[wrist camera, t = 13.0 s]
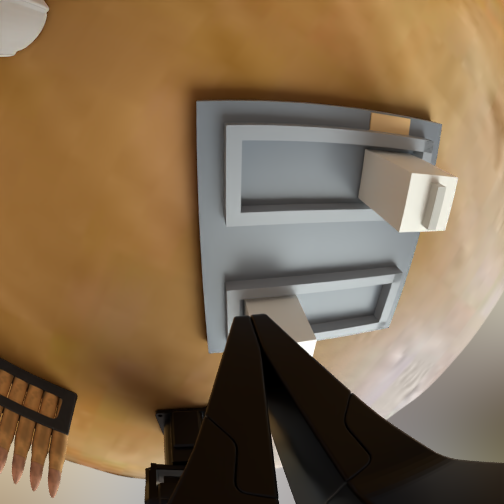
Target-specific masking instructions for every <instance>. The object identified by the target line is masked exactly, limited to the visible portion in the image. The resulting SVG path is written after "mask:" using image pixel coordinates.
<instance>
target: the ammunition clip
mask: <svg viewBox="0 0 504 504" xmlns="http://www.w3.org/2000/svg"><path fill="white" fill-rule="evenodd" d="M11 383H12V386H11ZM10 386H11V389H10ZM9 389H10V392H9ZM8 392H9V395H8ZM26 392H27V393H26ZM7 395H8V398H7ZM25 395H26V397H25ZM24 398H25V400H24ZM41 399H42V402H41ZM76 400H77V394H76V393H73V392H71V391H68V390H66V389H64V388H61V387H59V386H57V385H54V384H52V383H50V382H48V381H45V380H43V379H41V378H39V377H37V376H35V375H33V374H31V373H29V372H27V371H25V370H23V369H21V368H19V367H17V366H15V365H13V364H11V363H9V362H7V361H6V360H4V359H2V358H0V417H1V414H2V413H3V415H2V419H1V422H0V473H1V472H2V470H3V468H4V466H5V463H6V460H7V455H8V452H9V448H10V445H11V443H12V441H13V439H14V435H15V431H16V427H17V423H18V421H19V423H18V427H17V431H16V436H15V443H14V444H15V445H14V446H15V447H14V456H13V462H12V476H13V481H14V483H15V484H17V483H18V481H19V480H20V478H21V475H22V473H23V470H24V466H25V461H26V458H27V453H28V451H29V449H30V446H31V441H32V436H33V432H34V428H35V432H34V437H33V442H32V457H31V467H30V482H31V487H32V490H33V491H35V490H36V489H37V487H38V486H39V483H40V480H41V477H42V471H43V466H44V462H45V458H46V456H47V454H48V448H49V442H50V437H51V435H52V437H51V443H50V449H49V473H48V486H49V492H50V495H51V497H52V498H54V496H55V495H56V493H57V491H58V488H59V483H60V478H61V473H62V467H63V464H64V461H65V456H66V448H67V442H68V435H69V429H70V425H71V420H72V416H73V412H74V408H75V404H76ZM23 402H24V404H23ZM40 403H41V406H40ZM57 405H58V406H57ZM39 407H40V410H39ZM56 408H57V411H56ZM38 411H39V413H38ZM55 413H56V416H55ZM54 417H55V418H54Z"/></svg>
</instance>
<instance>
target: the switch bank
mask: <svg viewBox="0 0 504 504" xmlns="http://www.w3.org/2000/svg"><path fill="white" fill-rule="evenodd" d="M441 128H442V124H439V123H436V122H433V121H429V120H424V119H419V118H415V117H410V116H404V115H399V114H394V113H388V112H382V111H376V110H369V109H362V108H355V107H347V106H338V105H329V104H319V103H307V102H292V101H273V100H196V130H197V177H198V205H199V227H200V246H201V263H202V278H203V292H204V305H205V317H206V329H207V340H208V350H209V353H219V352H224V349H225V345H226V342H227V338H228V335H229V332H230V328H231V325H232V322H233V318H234V317H235V316H243V315H244V299H255V298H266V297H276V296H287V295H296V296H297V298H298V300H299V302H300V304H301V307H302V309H303V311H304V313H305V315H306V317H307V320H308V322H309V324H310V326H311V328H312V330H313V333H314V335H315V337H316V339H317V340H316V341H318V340H324V339H331V338H336V337H342V336H348V335H353V334H359V333H364V332H369V331H374V330H379V329H384V328H389V325H390V322H391V320H392V317H393V315H394V312H395V309H396V306H397V304H398V301H399V298H400V295H401V292H402V289H403V287H404V284H405V281H406V277H407V274H408V271H409V268H410V265H411V262H412V258H413V255H414V252H415V248H416V245H417V241H418V238H419V234H420V232H398V231H397V230H396V229H395V228H393V227H392V226H391V225H390V224H389V223H388V222H386V221H385V220H384V219H383V218H382V217H381V216H379V215H378V214H377V213H376V212H375V211H373V210H372V209H371V208H370V207H369V206H367V205H366V204H365V203H364V202H362V201H361V200H360V199H359V198H358V196H359V189H360V183H361V176H362V169H363V162H364V154H365V149H371V150H382V151H392V152H401V153H409V154H412V155H414V156H416V157H418V158H420V159H422V160H424V161H426V162H428V163H431V164H433V165H435V164H436V159H437V153H438V147H439V141H440V135H441Z"/></svg>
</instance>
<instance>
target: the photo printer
mask: <svg viewBox="0 0 504 504" xmlns="http://www.w3.org/2000/svg"><path fill="white" fill-rule="evenodd" d="M48 10H49V7H48V6H47V4H46V3H45V1H44V0H0V57H10V56H14V55H15V54H16V52H17V51H20V50H22V49H24V48H26V47H27V46H28V45H30V44H31V43H32V42H33V41H34V40H35V39H36V37H37V36H38V35H39V33H40V32H41V30H42V28H43V26H44V24H45V21H46V18H47V14H46V13H47V12H48Z"/></svg>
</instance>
